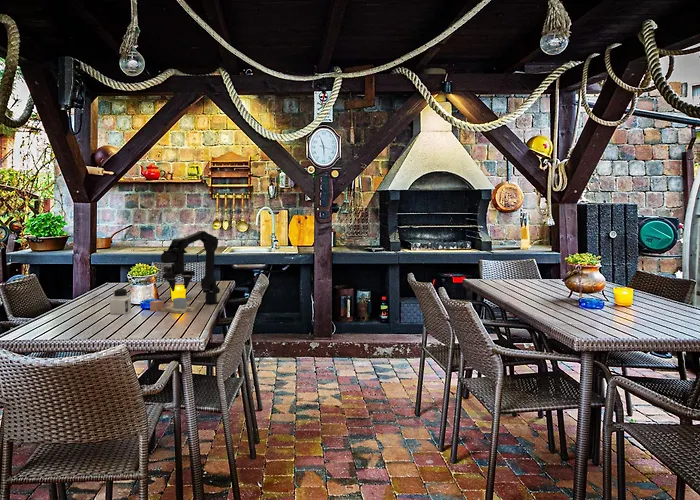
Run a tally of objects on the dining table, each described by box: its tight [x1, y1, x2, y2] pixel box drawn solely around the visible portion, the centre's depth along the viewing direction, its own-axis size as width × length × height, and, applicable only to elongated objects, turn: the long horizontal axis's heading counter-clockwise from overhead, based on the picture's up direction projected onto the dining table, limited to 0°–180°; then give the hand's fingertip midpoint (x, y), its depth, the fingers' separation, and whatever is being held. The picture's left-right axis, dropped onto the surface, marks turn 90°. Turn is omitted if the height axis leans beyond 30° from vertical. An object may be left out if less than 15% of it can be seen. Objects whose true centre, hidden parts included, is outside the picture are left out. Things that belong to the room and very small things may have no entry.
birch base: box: [160, 305, 200, 315], centre depth 301 cm, size 14×14×2 cm
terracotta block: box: [149, 299, 165, 312], centre depth 300 cm, size 5×5×5 cm
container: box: [109, 288, 132, 315], centre depth 292 cm, size 8×8×13 cm
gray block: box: [172, 297, 188, 309], centre depth 300 cm, size 5×5×5 cm
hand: (179, 290), depth 300 cm, fingers open, 9 cm apart
